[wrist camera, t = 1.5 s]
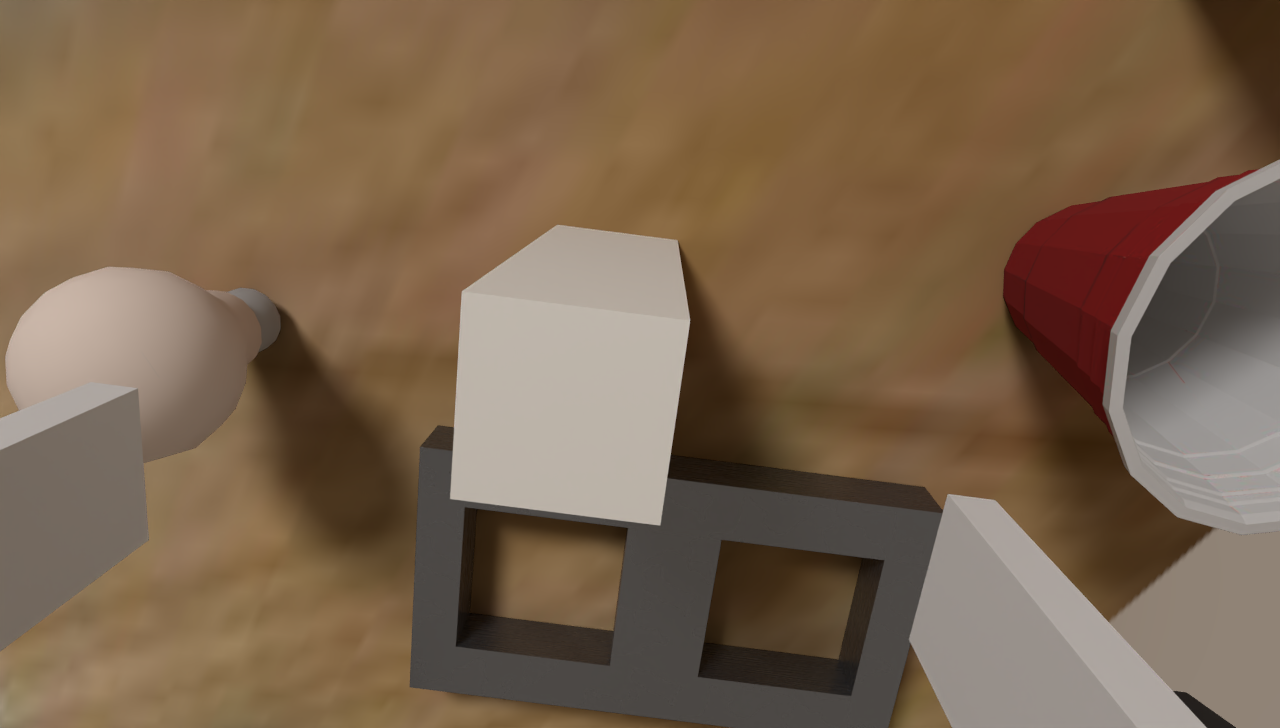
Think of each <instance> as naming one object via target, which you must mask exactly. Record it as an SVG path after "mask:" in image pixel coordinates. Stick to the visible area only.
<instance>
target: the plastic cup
mask: <svg viewBox="0 0 1280 728" xmlns="http://www.w3.org/2000/svg"><path fill="white" fill-rule="evenodd" d="M1003 297H1004V299H1005V302H1006V304H1007V307H1008V309H1009V311H1010V314H1011V316H1012V319H1013V321H1014V323H1015V326H1016V327H1017V328H1018V329H1019V330H1020V331H1021V332H1022V333H1023V334H1024V335H1026V336H1027V337H1028V338H1029V339H1030V340H1031V341H1032V342H1033V343H1034V346H1035V348H1036V350H1037V351H1038V352H1039V353H1040V354H1041V355H1042V356H1043V357H1044V358H1045V359H1046V360H1047V361H1048V362H1049V363H1050V364H1051V365H1052V366H1053V367H1054V368H1055V370H1056V371H1057V372H1058V373H1059V374H1060V375H1061V376H1062V377H1063V378H1064V379H1065V380H1066V381H1067V382H1068V383H1069V384H1070V385H1071V386H1072V387H1073V388H1074V389H1075V390H1076V391H1077V392H1078V393H1079V394H1080V395H1081V396H1082V397H1083V398H1084V399H1085V400H1086V401H1087V402H1088V403H1089V404H1090V405H1091V406H1092V408H1093V410H1094V413H1095V414H1096V415H1097V416H1098V417H1099V418H1100V419H1101V420H1102V421H1103V422H1104V423H1105V424H1106V425H1107V428H1108V431H1109V432H1110V433H1111V434H1112V435H1113V436H1114V439H1115V441H1116V444H1117V447H1118V450H1119V453H1120V456H1121V459H1122V461H1123V464H1124V466H1125V468H1126V469H1127V470H1128V472H1129V473H1130V475H1131V476H1132V477H1134V478H1135V479H1136V480H1137V481H1138V482H1139V483H1140V484H1141V485H1142V486H1143V487H1145V488H1146V489H1147V490H1148V491H1149V492H1150V493H1151V494H1152V495H1153V496H1154V497H1156V498H1157V499H1158V500H1159V501H1160V502H1161V503H1162V504H1163V505H1164V506H1165V507H1167V508H1168V509H1169V510H1170V511H1171V512H1172V513H1173V514H1174V515H1175V516H1176V517H1178V518H1182V519H1185V520H1189V521H1193V522H1196V523H1200V524H1203V525H1207V526H1211V527H1214V528H1218V529H1221V530H1225V531H1229V532H1232V533H1236V534H1239V535H1248V534H1256V533H1266V532H1276V531H1280V159H1279V160H1277V161H1275V162H1273V163H1271V164H1269V165H1267V166H1265V167H1263V168H1261V169H1257V170H1249V171H1246V172H1244V173H1242V174H1240V175H1234V176H1226V177H1218V178H1216V179H1214V180H1212V181H1210V182H1205V183H1198V184H1192V185H1185V186H1179V187H1172V188H1166V189H1160V190H1153V191H1147V192H1140V193H1134V194H1127V195H1121V196H1114V197H1109V198H1107V199H1105V200H1103V201H1100V202H1093V203H1086V204H1079V205H1072V206H1070V207H1068V208H1066V209H1063V210H1061V211H1059V212H1057V213H1055V214H1053V215H1051V216H1049V217H1047V218H1045V219H1043V220H1041V221H1039V222H1037V223H1036V224H1035V225H1034V226H1033V227H1032V228H1031V229H1030V230H1029V231H1028V232H1027V233H1026V234H1025V235H1024V236H1023V237H1022V238H1021V239H1020V240H1019V241H1018V242H1017V243H1016V245H1015V247H1014V249H1013V251H1012V254H1011V256H1010V258H1009V260H1008V262H1007V265H1006V267H1005V269H1004V289H1003Z"/></svg>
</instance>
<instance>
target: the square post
mask: <svg viewBox="0 0 1280 728" xmlns="http://www.w3.org/2000/svg"><path fill="white" fill-rule="evenodd" d="M689 326H690V316H689V309H688V303H687V297H686V290H685V284H684V278H683V271H682V265H681V259H680V252H679V246H678V240H672V239H664V238H656V237H648V236H640V235H633V234H625V233H617V232H609V231H602V230H594V229H586V228H578V227H570V226H563V225H556V226H555V227H553V228H552V229H551V230H549V231H548V232H546V233H545V234H543V235H542V236H541V237H539V238H538V239H536V240H535V241H533V242H532V243H531V244H529V245H528V246H526V247H525V248H523V249H522V250H520V251H519V252H518V253H516V254H515V255H513V256H512V257H510V258H509V259H508V260H506V261H505V262H503V263H502V264H500V265H499V266H498V267H496V268H495V269H493V270H492V271H490V272H489V273H488V274H486V275H485V276H483V277H482V278H480V279H479V280H478V281H476V282H475V283H473V284H472V285H470V286H469V287H468V288H466V289H465V290H463V291H462V298H461V316H460V334H459V351H458V369H457V386H456V404H455V422H454V439H453V457H452V474H451V492H450V499H454V500H462V501H470V502H478V503H485V504H493V505H501V506H509V507H517V508H525V509H533V510H541V511H549V512H557V513H564V514H572V515H580V516H588V517H596V518H604V519H612V520H620V521H628V522H636V523H643V524H651V525H659V526H660V524H661V517H662V510H663V503H664V497H665V490H666V483H667V476H668V469H669V462H670V456H671V449H672V442H673V435H674V428H675V422H676V415H677V408H678V401H679V394H680V387H681V381H682V374H683V367H684V360H685V353H686V347H687V340H688V333H689Z"/></svg>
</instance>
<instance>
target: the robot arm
mask: <svg viewBox="0 0 1280 728" xmlns="http://www.w3.org/2000/svg"><path fill="white" fill-rule="evenodd" d="M148 540H149V536H148V522H147V508H146V494H145V480H144V466H143V452H142V438H141V424H140V410H139V396H138V388H133V387H125V386H117V385H110V384H102V383H94V382H90V383H87V384H85V385H82V386H80V387H77V388H75V389H72V390H70V391H67V392H65V393H62V394H60V395H57V396H55V397H52V398H50V399H47V400H45V401H42V402H40V403H37V404H35V405H32V406H30V407H27V408H25V409H22V410H20V411H18V412H15V413H13V414H10V415H8V416H5V417H3V418H0V651H1V650H3V649H4V648H5V647H7V646H8V645H9V644H11V643H12V642H13V641H15V640H16V639H17V638H19V637H20V636H21V635H23V634H24V633H25V632H27V631H28V630H29V629H31V628H32V627H33V626H35V625H36V624H37V623H39V622H40V621H41V620H43V619H44V618H45V617H47V616H48V615H49V614H51V613H52V612H53V611H55V610H56V609H57V608H59V607H60V606H61V605H63V604H64V603H65V602H67V601H68V600H69V599H71V598H72V597H73V596H75V595H76V594H77V593H79V592H80V591H81V590H83V589H84V588H85V587H87V586H88V585H89V584H91V583H92V582H93V581H95V580H96V579H97V578H99V577H100V576H101V575H103V574H104V573H105V572H107V571H108V570H109V569H111V568H112V567H113V566H115V565H116V564H117V563H119V562H120V561H121V560H123V559H124V558H125V557H127V556H128V555H129V554H131V553H132V552H133V551H135V550H136V549H137V548H139V547H140V546H141V545H143V544H144V543H145V542H147V541H148ZM909 641H910V643H911V645H912V647H913V649H914V651H915V653H916V655H917V657H918V659H919V661H920V663H921V665H922V667H923V669H924V671H925V673H926V675H927V677H928V679H929V681H930V683H931V685H932V688H933V690H934V692H935V694H936V696H937V698H938V700H939V702H940V704H941V706H942V708H943V710H944V712H945V714H946V716H947V718H948V720H949V722H950V724H951V726H952V728H1236V727H1234V726H1233V725H1232V724H1230V723H1229V722H1227V721H1226V720H1224V719H1223V718H1221V717H1220V716H1219V715H1217V714H1216V713H1215V712H1213V711H1212V710H1210V709H1209V708H1208V707H1206V706H1205V705H1203V704H1202V703H1200V702H1199V701H1198V700H1196V699H1195V698H1193V697H1192V696H1191V695H1189V694H1188V693H1185V692H1178V691H1172V690H1171V689H1170V688H1169V687H1168V686H1167V685H1166V684H1165V682H1164V681H1163V680H1162V679H1161V678H1160V677H1159V676H1158V675H1157V674H1156V673H1155V672H1154V671H1153V669H1152V668H1151V667H1150V666H1149V665H1148V664H1147V663H1146V662H1145V661H1144V660H1143V659H1142V658H1141V656H1140V655H1138V653H1137V652H1136V651H1135V650H1134V649H1133V648H1132V647H1131V646H1130V645H1129V644H1128V643H1127V642H1126V640H1125V639H1124V638H1123V637H1122V636H1121V635H1120V634H1119V633H1118V632H1117V631H1116V630H1115V629H1114V627H1113V626H1112V625H1111V624H1110V623H1109V622H1108V621H1107V620H1106V619H1105V618H1104V617H1103V616H1102V615H1101V613H1100V612H1099V611H1098V610H1097V609H1096V608H1095V607H1094V606H1093V605H1092V604H1091V603H1090V602H1089V601H1088V600H1087V598H1086V597H1085V596H1084V595H1083V594H1082V593H1081V592H1080V591H1079V590H1078V589H1077V588H1076V587H1075V586H1074V584H1073V583H1072V582H1071V581H1070V580H1069V579H1068V578H1067V577H1066V576H1065V575H1064V574H1063V573H1062V572H1061V570H1060V569H1059V568H1058V567H1057V566H1056V565H1055V564H1054V563H1053V562H1052V561H1051V560H1050V559H1049V558H1048V557H1047V555H1046V554H1045V553H1044V552H1043V551H1042V550H1041V549H1040V548H1039V547H1038V546H1037V545H1036V544H1035V543H1034V541H1033V540H1032V539H1031V538H1030V537H1029V536H1028V535H1027V534H1026V533H1025V532H1024V531H1023V530H1022V529H1021V527H1020V526H1019V525H1018V524H1017V523H1016V522H1015V521H1014V520H1013V519H1012V518H1011V517H1010V516H1009V515H1008V514H1007V512H1006V511H1005V510H1004V509H1003V508H1002V507H1001V506H1000V505H999V504H998V503H997V502H996V501H995V500H990V499H982V498H975V497H967V496H959V495H952V494H948V495H947V499H946V503H945V506H944V510H943V514H942V518H941V521H940V525H939V529H938V532H937V536H936V540H935V544H934V547H933V551H932V555H931V559H930V562H929V566H928V570H927V574H926V577H925V581H924V585H923V589H922V592H921V596H920V600H919V604H918V607H917V611H916V615H915V619H914V622H913V626H912V630H911V634H910V637H909Z"/></svg>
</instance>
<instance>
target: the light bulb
mask: <svg viewBox="0 0 1280 728" xmlns="http://www.w3.org/2000/svg"><path fill="white" fill-rule="evenodd" d="M280 329H281V322H280V315H279V313H278V310H277V308H276V306H275V304H274V303H273V302H272V301H271V300H270V299H269V298H268V297H267V296H266V295H264V294H262V293H260V292H258V291H257V290H255V289H247V288H238V289H235V290H232V291H229V292H222V291H213V290H207V291H206V290H205V289H203V288H201V287H199V286H197V285H195V284H193V283H191V282H189V281H187V280H185V279H183V278H181V277H179V276H177V275H175V274H173V273H171V272H167V271H158V270H148V269H139V268H121V267H106V268H103V269H99V270H96V271H93V272H90V273H86V274H83V275H80V276H77V277H74V278H71V279H69V280H67V281H65V282H63V283H62V284H60V285H58V286H56V287H54V288H52V289H51V290H49V291H47V292H45V293H44V294H43V295H42V296H41V297H40V298H39V299H38V300H37V301H36V302H35V303H34V304H33V305H32V306H31V307H30V308H29V309H28V310H27V311H26V312H25V313H24V314H23V315H22V316H21V318H20V320H19V322H18V325H17V327H16V329H15V331H14V333H13V335H12V337H11V339H10V342H9V346H8V349H7V353H6V356H5V361H6V377H7V387H8V389H9V391H10V393H11V395H12V397H13V399H14V401H15V403H16V405H17V407H18V409H19V411H20V410H22V409H25V408H27V407H30V406H32V405H35V404H37V403H40V402H42V401H45V400H47V399H50V398H52V397H55V396H57V395H60V394H62V393H65V392H67V391H70V390H72V389H75V388H77V387H80V386H82V385H85V384H87V383H90V382H94V383H102V384H110V385H117V386H125V387H133V388H138V396H139V410H140V424H141V438H142V452H143V463H146V462H149V461H153V460H156V459H160V458H163V457H167V456H170V455H173V454H177V453H180V452H184V451H187V450H190V449H194V448H196V447H197V446H198V445H200V444H201V443H202V442H203V441H204V440H205V439H206V438H207V437H209V436H210V435H211V434H212V433H213V432H214V431H215V430H216V429H218V428H219V427H220V426H221V425H222V424H223V423H224V421H225V420H226V419H227V418H228V417H229V416H230V415H231V413H232V412H233V411H234V410H235V409H236V406H237V404H238V401H239V399H240V396H241V394H242V391H243V389H244V386H245V384H246V374H247V364H249V363H250V362H251V361H252V360H253V359H254V358H255V357H256V356H257V353H258V352H260V351H262V350H264V349H266V348H268V347H269V346H270V345H271V344H272V343H273V342H274V341H276V339H277V337H278V334H279V332H280Z"/></svg>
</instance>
